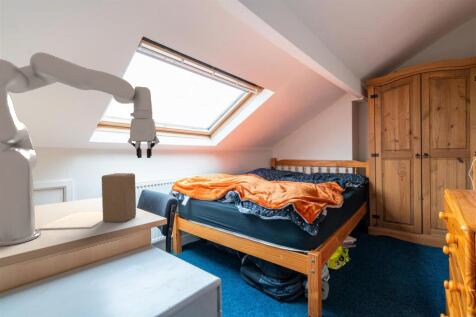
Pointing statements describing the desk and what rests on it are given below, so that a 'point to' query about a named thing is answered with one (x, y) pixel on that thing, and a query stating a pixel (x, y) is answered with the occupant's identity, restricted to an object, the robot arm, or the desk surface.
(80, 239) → the desk surface
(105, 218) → the block
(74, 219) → the mat
